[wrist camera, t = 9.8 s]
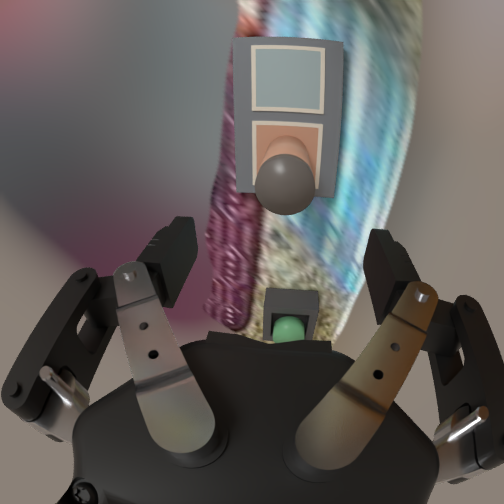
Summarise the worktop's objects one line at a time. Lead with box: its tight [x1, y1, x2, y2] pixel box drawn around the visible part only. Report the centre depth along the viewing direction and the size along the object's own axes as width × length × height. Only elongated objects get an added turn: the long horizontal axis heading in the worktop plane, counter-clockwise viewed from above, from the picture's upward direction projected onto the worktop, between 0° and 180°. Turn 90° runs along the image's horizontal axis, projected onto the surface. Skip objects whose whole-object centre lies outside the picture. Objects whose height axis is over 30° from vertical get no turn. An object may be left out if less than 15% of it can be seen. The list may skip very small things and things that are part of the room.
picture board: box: [233, 37, 343, 198], centre depth 23 cm, size 16×10×1 cm, turn 1°
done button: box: [273, 316, 304, 343], centre depth 34 cm, size 4×4×2 cm
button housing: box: [263, 288, 319, 341], centre depth 36 cm, size 7×7×4 cm
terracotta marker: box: [255, 135, 315, 215], centre depth 21 cm, size 4×4×9 cm
